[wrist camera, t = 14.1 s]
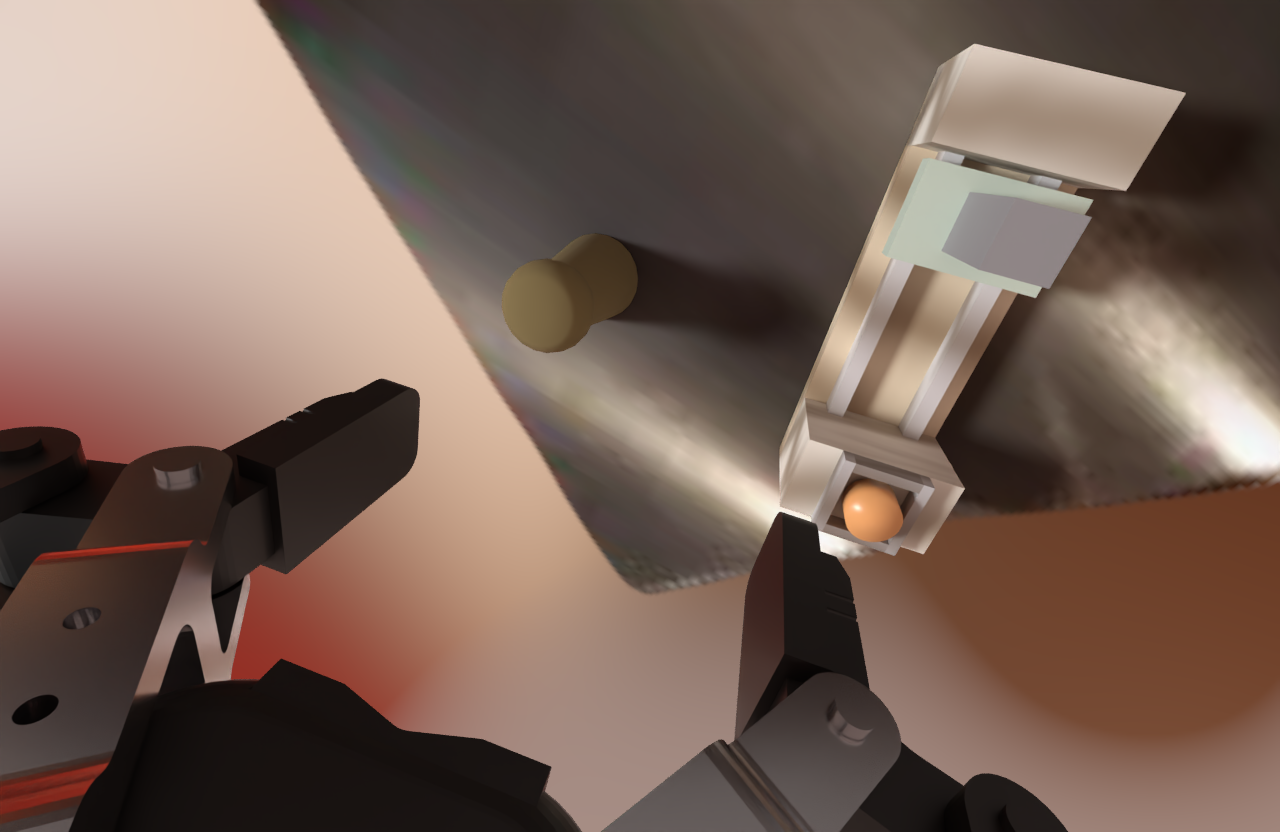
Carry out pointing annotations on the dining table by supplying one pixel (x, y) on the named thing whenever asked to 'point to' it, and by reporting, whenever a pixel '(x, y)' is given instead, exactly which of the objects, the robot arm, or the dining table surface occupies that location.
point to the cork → (569, 292)
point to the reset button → (871, 510)
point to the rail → (947, 283)
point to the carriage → (986, 227)
